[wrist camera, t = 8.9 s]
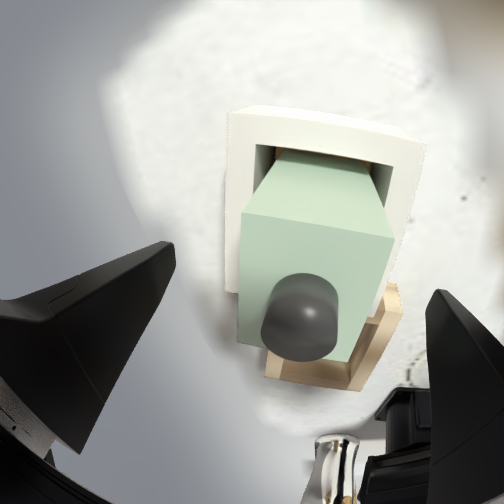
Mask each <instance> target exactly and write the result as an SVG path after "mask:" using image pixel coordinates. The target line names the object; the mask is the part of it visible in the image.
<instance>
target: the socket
mask: <svg viewBox="0 0 504 504" xmlns="http://www.w3.org/2000/svg"><path fill="white" fill-rule="evenodd" d="M275 146H279V147H287V148H294V149H301V150H308V151H315V152H321V153H328V154H334V155H339V156H345V157H350V158H356V159H361V160H366V161H371V162H372V163H371V169H370V174H369V175H370V177H371V179H372V182H373V184H374V186H375V189H376V191H377V193H378V196H379V198H380V201H381V203H382V205H383V208H384V210H385V213H386V215H387V218H388V221H389V223H390V226H391V229H392V231H393V234H394V237H395V241H394V244H393V247H392V251H391V254H390V257H389V260H388V263H387V266H386V269H385V271H384V274H383V277H382V280H381V283H380V285H379V288H378V291H377V293H376V296H375V299H374V301H373V304H372V306H371V309H370V311H369V314H368V316H367V317H374V315H375V313H376V310H377V308H378V306H379V303H380V301H381V298H382V296H383V293H384V290H385V288H386V285H387V282H388V280H389V277H390V274H391V272H392V269H393V266H394V263H395V260H396V257H397V254H398V251H399V248H400V245H401V242H402V239H403V236H404V233H405V230H406V226H407V223H408V219H409V216H410V213H411V209H412V205H413V202H414V198H415V194H416V190H417V186H418V182H419V178H420V174H421V169H422V165H423V160H424V156H425V151H426V146H427V145H426V144H425V143H423V142H422V141H420V140H419V139H417V138H415V137H414V136H412V135H411V134H409V133H407V132H406V131H404V130H402V129H401V128H399V127H395V126H391V125H387V124H382V123H378V122H373V121H369V120H364V119H359V118H353V117H348V116H342V115H336V114H330V113H324V112H317V111H310V110H302V109H294V108H285V107H274V106H263V105H254V106H250V107H246V108H243V109H239V110H236V111H232V112H229V113H227V143H226V187H225V291H227V292H232V293H237V294H238V293H239V263H240V236H241V212H242V211H243V209H244V208H245V206H246V205H247V203H248V202H249V200H250V199H251V197H252V196H253V194H254V193H255V191H256V190H257V188H258V187H259V185H260V184H261V182H262V181H263V179H264V178H265V176H266V175H267V173H268V172H269V170H270V169H271V168H272V166H273V160H274V147H275Z"/></svg>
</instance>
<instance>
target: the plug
mask: <svg viewBox="0 0 504 504" xmlns="http://www.w3.org/2000/svg"><path fill="white" fill-rule="evenodd" d="M394 241H395V237H394V234H393V231H392V229H391V226H390V223H389V221H388V218H387V215H386V213H385V210H384V208H383V205H382V203H381V201H380V198H379V196H378V193H377V191H376V189H375V186H374V184H373V182H372V179H371V177H370V175H369V173H368V170H367V168H366V166H365V164H364V162H362V161H357V160H352V159H347V158H341V157H335V156H329V155H323V154H317V153H311V152H304V151H297V150H289V149H284V150H283V151H282V153H281V154H280V156H279V157H278V159H277V160H276V162H275V163H274V165H273V166H272V168H271V169H270V170H269V172H268V173H267V175H266V176H265V178H264V179H263V181H262V182H261V184H260V185H259V187H258V188H257V190H256V191H255V193H254V194H253V196H252V197H251V199H250V200H249V202H248V203H247V205H246V206H245V208H244V209H243V211H242V212H241V236H240V263H239V293H238V326H237V342H239V343H243V344H248V345H252V346H257V347H262V348H267V349H269V350H270V351H271V352H272V353H274V354H275V355H277V356H279V357H281V358H283V359H286V360H290V361H296V362H310V361H315V360H318V359H321V358H322V359H329V360H335V361H342V362H348V360H349V358H350V356H351V354H352V351H353V349H354V347H355V345H356V342H357V340H358V338H359V336H360V333H361V331H362V329H363V326H364V324H365V321H366V319H367V316H368V314H369V311H370V309H371V306H372V304H373V301H374V299H375V296H376V293H377V291H378V288H379V285H380V283H381V280H382V277H383V274H384V271H385V269H386V266H387V263H388V260H389V257H390V254H391V251H392V247H393V244H394Z"/></svg>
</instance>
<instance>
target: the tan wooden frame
mask: <svg viewBox="0 0 504 504" xmlns="http://www.w3.org/2000/svg"><path fill="white" fill-rule="evenodd" d="M402 315H403V310H402V306H401V301H400V297H399V292H398V288H397V284H395V283H390V282H387V285H386V288H385V290H384V293H383V296H382V298H381V301H380V303H379V306H378V308H377V310H376V313H375V315H374V317H367V319H366V321H365V324H364V326H363V329H362V331H361V333H360V336H359V338H358V340H357V342H356V345H355V347H354V349H353V351H352V354H351V356H350V358H349V360H348V362H342V361H335V360H329V359H322V358H321V359H318V360H315V361H310V362H296V361H290V360H286V359H283V358H281V357H279V356H277V355H275V354H274V353H272V352H271V351H270V350H269V349H268V355H267V362H266V368H265V375H264V377H268V378H273V379H278V380H283V381H289V382H294V383H300V384H306V385H312V386H319V387H325V388H332V389H340V390H348V391H357V392H360V391H361V389H362V388H363V386H364V385H365V383H366V381H367V380H368V378H369V376H370V375H371V373H372V371H373V370H374V368H375V366H376V364H377V363H378V361H379V359H380V357H381V355H382V354H383V352H384V350H385V348H386V346H387V344H388V343H389V341H390V339H391V337H392V335H393V333H394V331H395V329H396V327H397V325H398V323H399V321H400V319H401V317H402Z"/></svg>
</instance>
